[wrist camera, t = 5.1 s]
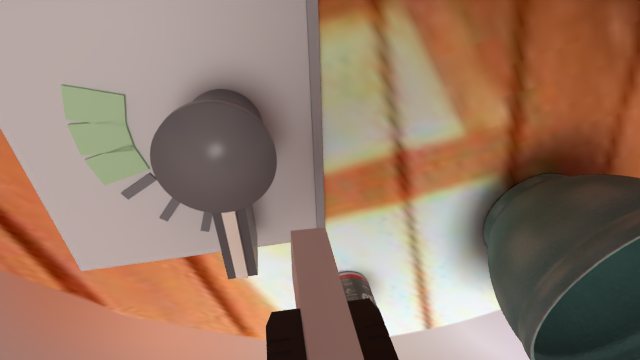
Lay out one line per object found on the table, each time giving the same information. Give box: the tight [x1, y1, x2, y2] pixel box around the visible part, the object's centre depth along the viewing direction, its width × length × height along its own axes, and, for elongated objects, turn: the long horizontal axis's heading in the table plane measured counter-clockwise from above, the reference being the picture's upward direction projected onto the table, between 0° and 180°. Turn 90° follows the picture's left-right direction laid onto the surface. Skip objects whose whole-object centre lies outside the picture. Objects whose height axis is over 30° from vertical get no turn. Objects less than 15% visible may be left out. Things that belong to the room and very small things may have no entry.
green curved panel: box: [61, 84, 212, 232], centre depth 20 cm, size 11×9×1 cm
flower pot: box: [483, 173, 640, 360], centre depth 26 cm, size 16×16×11 cm
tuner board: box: [0, 0, 325, 271], centre depth 20 cm, size 18×18×2 cm
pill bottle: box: [339, 272, 377, 306], centre depth 28 cm, size 5×5×8 cm
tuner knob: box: [150, 89, 277, 279], centre depth 19 cm, size 11×6×5 cm, turn 2°
